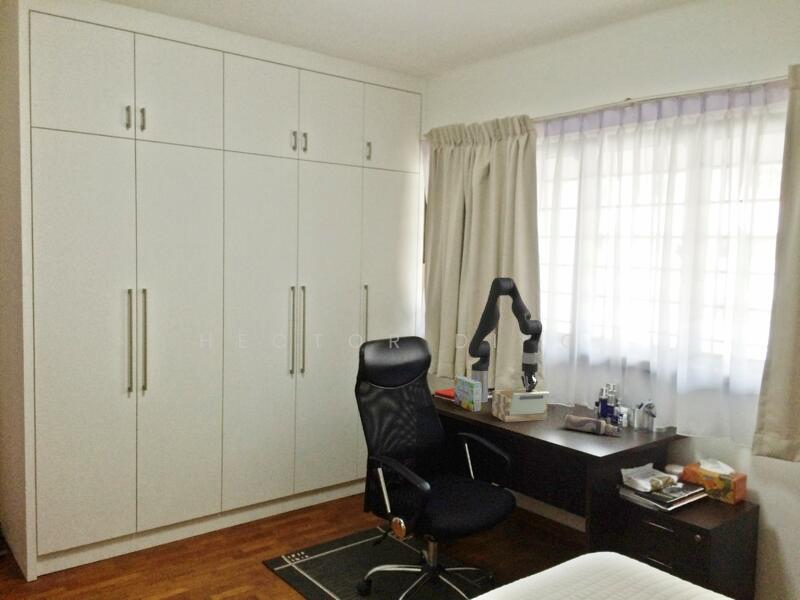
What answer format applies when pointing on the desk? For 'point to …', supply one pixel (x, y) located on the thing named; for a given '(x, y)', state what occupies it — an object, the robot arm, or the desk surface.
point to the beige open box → (502, 405)
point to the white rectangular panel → (528, 403)
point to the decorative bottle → (589, 425)
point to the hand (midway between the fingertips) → (528, 397)
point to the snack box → (467, 393)
